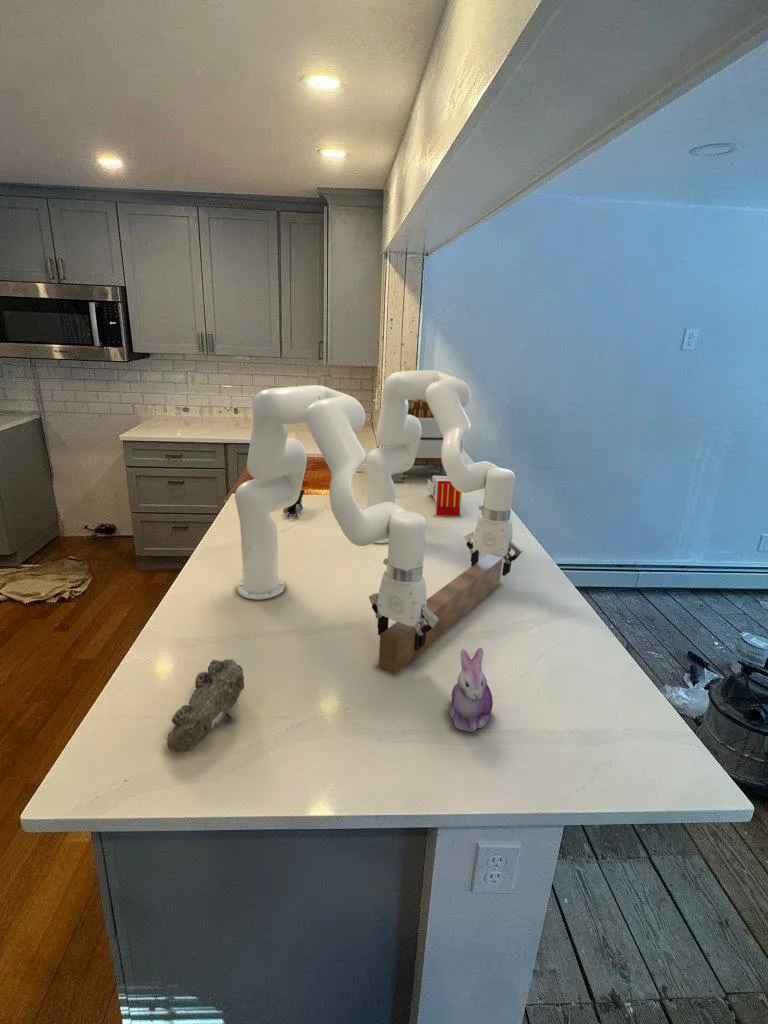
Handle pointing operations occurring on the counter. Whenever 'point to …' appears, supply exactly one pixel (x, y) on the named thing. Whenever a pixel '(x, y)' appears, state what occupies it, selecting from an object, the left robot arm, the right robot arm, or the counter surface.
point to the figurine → (471, 694)
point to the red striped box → (444, 496)
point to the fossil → (206, 705)
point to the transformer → (426, 438)
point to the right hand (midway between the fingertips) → (489, 569)
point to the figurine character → (295, 506)
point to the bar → (440, 612)
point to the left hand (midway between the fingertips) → (400, 640)
